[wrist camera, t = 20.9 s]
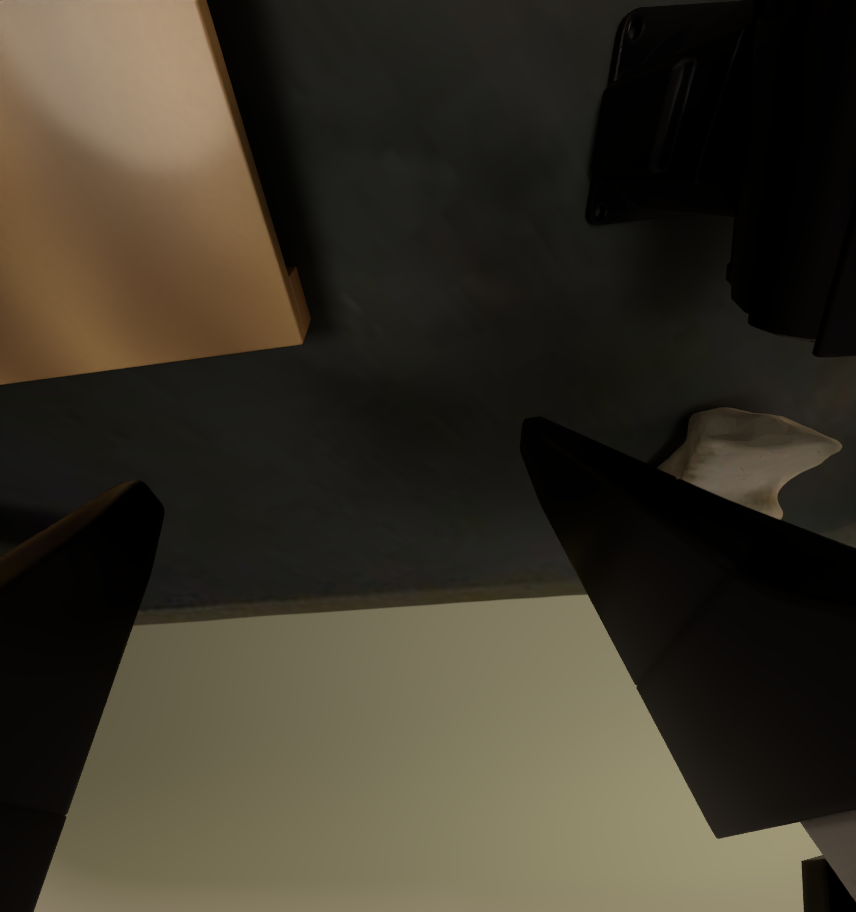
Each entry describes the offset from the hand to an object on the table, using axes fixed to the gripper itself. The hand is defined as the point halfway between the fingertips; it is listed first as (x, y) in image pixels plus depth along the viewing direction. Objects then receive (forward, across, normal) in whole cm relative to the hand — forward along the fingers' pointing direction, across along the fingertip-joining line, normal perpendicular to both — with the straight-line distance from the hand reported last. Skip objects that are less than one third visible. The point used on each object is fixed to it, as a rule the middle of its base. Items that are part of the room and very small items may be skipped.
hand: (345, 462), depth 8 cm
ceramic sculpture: (+12, -23, +15) cm, 30 cm away
